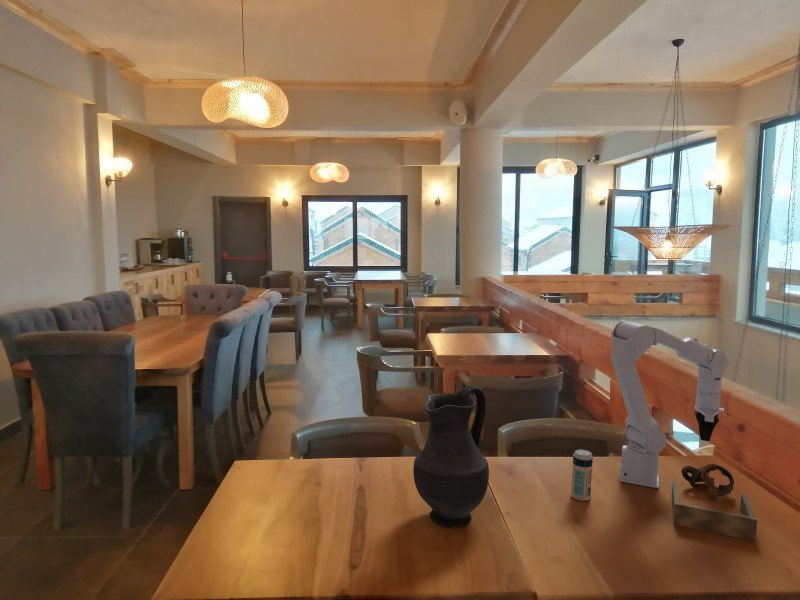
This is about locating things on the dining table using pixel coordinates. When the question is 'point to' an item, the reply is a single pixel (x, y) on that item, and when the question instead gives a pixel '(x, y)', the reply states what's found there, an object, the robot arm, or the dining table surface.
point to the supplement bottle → (582, 475)
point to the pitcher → (453, 458)
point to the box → (715, 518)
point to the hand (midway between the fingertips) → (704, 439)
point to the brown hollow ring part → (708, 479)
